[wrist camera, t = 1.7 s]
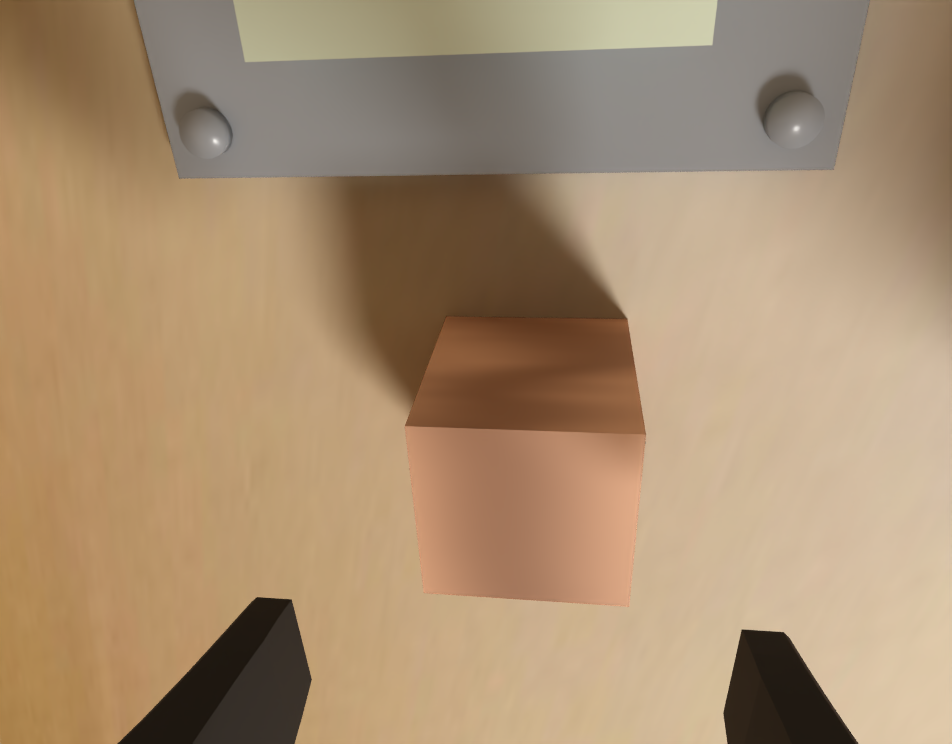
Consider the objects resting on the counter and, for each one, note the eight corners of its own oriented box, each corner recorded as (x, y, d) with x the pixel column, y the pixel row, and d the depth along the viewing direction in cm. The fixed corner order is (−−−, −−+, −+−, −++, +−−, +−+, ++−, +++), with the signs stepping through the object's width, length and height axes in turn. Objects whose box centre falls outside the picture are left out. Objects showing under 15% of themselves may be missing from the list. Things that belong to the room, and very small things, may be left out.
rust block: (626, 317, 17) (645, 434, 12) (616, 464, 19) (628, 606, 15) (446, 315, 17) (404, 426, 13) (456, 458, 20) (423, 593, 15)
